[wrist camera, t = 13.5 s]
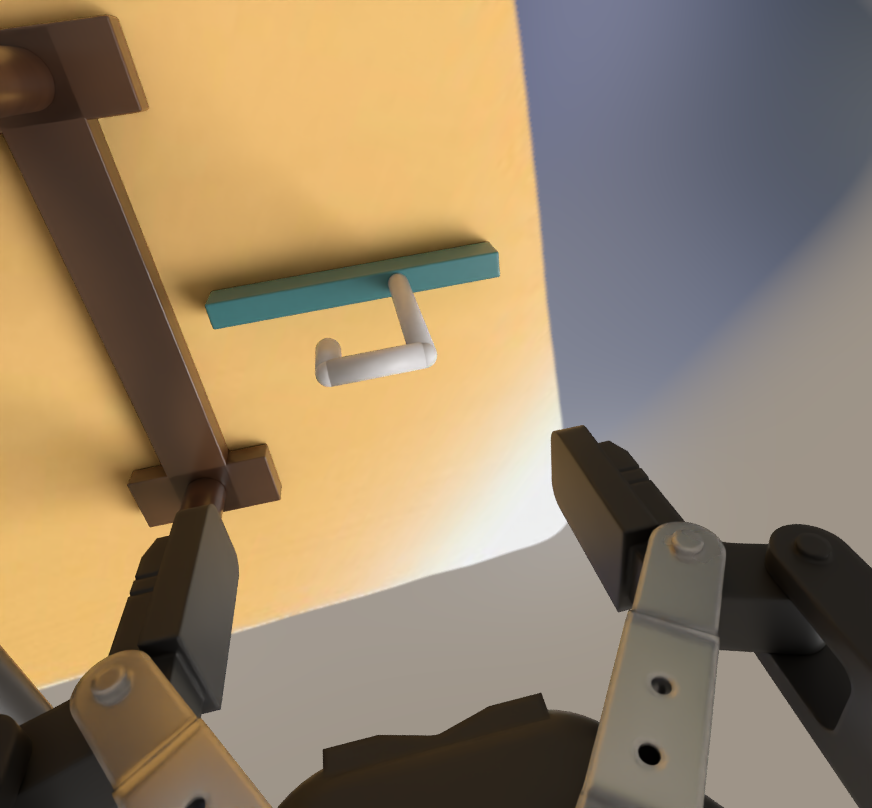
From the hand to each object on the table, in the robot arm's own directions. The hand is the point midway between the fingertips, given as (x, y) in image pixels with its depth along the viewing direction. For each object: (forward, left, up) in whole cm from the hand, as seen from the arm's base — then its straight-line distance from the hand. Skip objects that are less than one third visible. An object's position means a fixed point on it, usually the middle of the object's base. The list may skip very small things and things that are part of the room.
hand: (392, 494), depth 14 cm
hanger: (0, 0, -16) cm, 16 cm away
